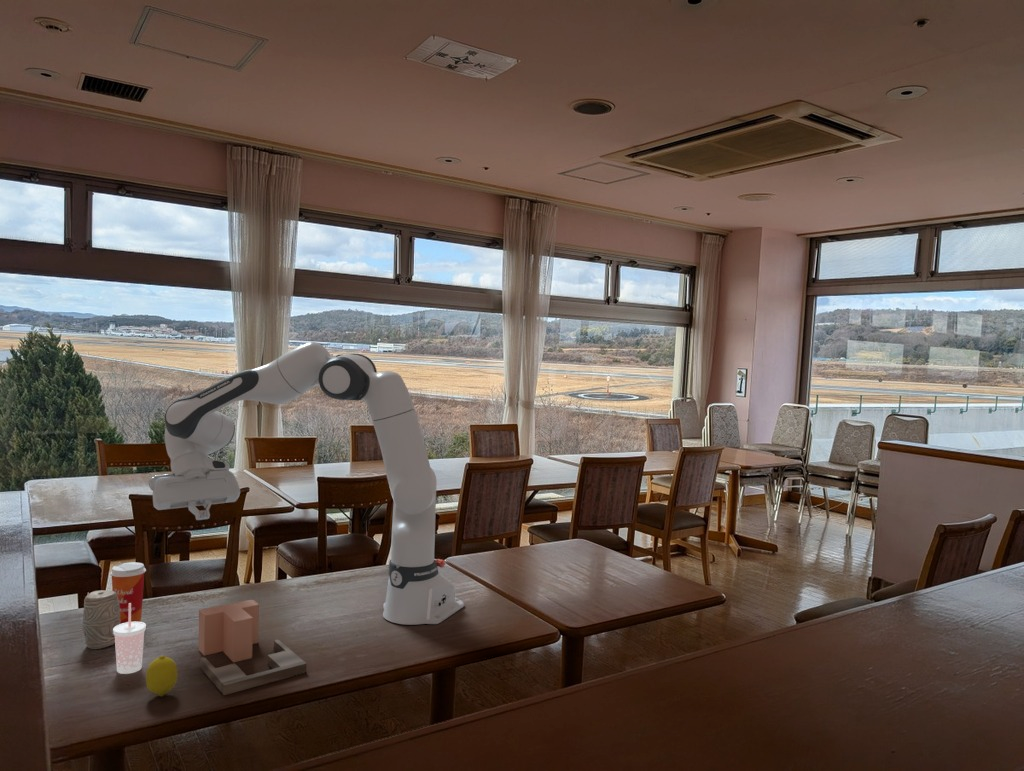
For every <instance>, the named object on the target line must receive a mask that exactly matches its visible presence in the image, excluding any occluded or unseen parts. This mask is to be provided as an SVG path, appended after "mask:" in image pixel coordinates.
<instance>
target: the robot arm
mask: <svg viewBox="0 0 1024 771" xmlns="http://www.w3.org/2000/svg"><path fill="white" fill-rule="evenodd" d="M318 385H319V386H320V389H321V391H322V392H323V393H324V394H325V395H326V396H327V397H329V398H331V399H334V400H339V401H358V402H359V401H361V400H362V401H363V402H364V403H365V404H366V406H367V408H368V411H369V415H370V418H371V421H372V424H373V428H374V430H375V431H374V432H375V435H376V437H377V442H378V445H379V448H380V451H381V456H382V461H383V465H384V470H385V474H386V480H387V482H388V485H389V486H388V487H389V489H390V495H391V497H392V500H393V508H392V521H391V522H392V526H391V542H390V543H391V545H390V547H391V548H390V560H389V562H388V575H389V576H388V580H387V588H386V595H385V602H383V605H382V607H383V611H382V612H383V613H382V617H383V618H384V619H385V620H387V621H389V623H390V622H391V623H394V624H399V625H409V626H410V625H411V626H412V625H425V624H427V625H438V624H440V623H442V622H443V621H444V620H446V619H448V618H449V617H451V616H452V615H453V614H456V612H458V611H459V610H461V609H462V608H464V606H465V603H464V602H463V600H461V599H459V598H458V597H456V588H455V586H454V584H453V582H452V581H450V580H449V579H448V578H446V577H445V576H443V574H441V573H440V572H439V568H441V569H442V568H444V567H445V565H446V561H445V559H440V558H437V559H435V545H436V544H435V542H436V536H435V535H436V512H437V511H436V505H437V476H436V474H435V472H434V470H433V468H432V467H431V465H430V464H431V463H430V461H429V457H428V453H427V449H426V444H425V442H424V436H423V433H422V429H421V426H420V423H419V420H418V416H417V412H416V409H415V406H414V402H413V399H412V396H411V394H410V392H409V389H408V387H407V385H406V383H405V380H404V379H403V378H402V376H401V375H400V374H399V373H397V372H395V371H390V370H389V371H388V370H386V371H385V370H384V371H379V372H377V366H376V365H375V362H374V361H372V359H370V358H369V357H367V356H366V355H364V354H359V353H345V354H336V356H333V355H332V354H331V353H330V351H328V349H327V348H326V347H324V345H322V344H320V343H319V342H316V341H309V342H306V343H303V344H301V345H299V346H297V347H295V348H292V349H291V350H289V351H287V352H286V353H284V354H282V355H281V356H278V357H277V358H276V359H274V360H272V361H270V362H269V363H266V364H264V365H261V366H259V367H255V368H252V369H246V370H241V371H239V372H237V373H235V374H232V375H230V376H228V377H226V378H224V379H222V380H220V381H218V382H216V383H214V384H212V385H210V386H209V387H207V388H203V390H201V391H199V392H197V393H194V394H192V395H187V396H186V395H185V396H183V397H180V398H178V399H176V400H175V401H173V402H172V403H171V404H170V405H169V406H168V408H167V409H166V411H165V414H164V425H165V430H164V444H165V449H166V453H167V456H168V457H169V459H170V471H171V473H165V474H155V475H154V476H152V477H150V478H149V480H148V485H149V488H150V490H151V491H152V505H153V508H155V509H156V510H157V511H162V510H164V511H165V510H173V509H181V508H188V511H189V512H190V513H191V514H192V515H194V517H195V520H196V521H202V520H208V519H210V517H211V513H210V509H211V506H212V505H218V504H225V503H226V504H227V503H228V504H229V503H235V502H237V501H238V499H239V497H240V494H241V488H240V485H239V483H238V480H237V478H236V475H235V474H234V472H232V471H230V467H231V466H230V463H228V462H226V461H222V460H217V459H212V458H209V457H208V455H212V454H213V453H216V452H218V451H220V450H222V449H223V448H226V446H228V445H229V444H230V443H231V442H232V440H233V439H234V436H235V433H236V432H235V431H236V426H235V422H234V419H233V418H232V417H230V416H229V415H226V414H225V413H222V412H221V411H219V410H221V409H223V408H225V407H227V406H229V405H230V404H232V403H235V402H239V401H255V402H261V403H262V402H263V403H266V404H272V405H284V404H286V403H290V402H292V401H295V400H296V399H298V398H299V397H302V395H304V394H305V393H307V392H308V391H311V389H313V388H314V387H317V386H318ZM200 506H203V508H204V509H203V510H199V509H198V508H197V507H200Z"/></svg>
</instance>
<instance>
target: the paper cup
mask: <svg viewBox="0 0 1024 771" xmlns="http://www.w3.org/2000/svg"><path fill="white" fill-rule="evenodd" d="M145 572H147V569H146V568H145V565H144V563H142V562H138V561H137V562H133V561H132V562H123V563H120V564H116V565H114V566H113V567H112V568H111V571H110V573H109V574H110V576H111V588H112V590H111V591H114V592H116V594H117V595H118V596H117V597H118V601H119V606H120V609H119V613H120V624H122V623H126V622H128V617H129V603H131V622H134V621H136V622H142V612H143V611H142V610H143V600H144V584H145Z"/></svg>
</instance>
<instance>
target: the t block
mask: <svg viewBox="0 0 1024 771" xmlns="http://www.w3.org/2000/svg"><path fill="white" fill-rule="evenodd" d="M259 610H260V605H259V603H258V602H256V600H254V599H247V600H242V601H237V602H233V603H232V602H231V603H228V604H223V605H217V606H212V607H208V608H202V609H199V610H198V650H199V652H200V653H201V654H202V656H204V657H205V656H207V655H213V654H217V653H221V652H223V653H224V654H225V656H227V657H228V659H229V660H230V661H231V662H232V663H237V662H241V661H246V660H249V659H252V658H253V645H254V644H258V643H259V626H260V625H259V621H260V618H259V617H260V615H259V612H260V611H259Z"/></svg>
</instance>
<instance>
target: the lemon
mask: <svg viewBox="0 0 1024 771" xmlns="http://www.w3.org/2000/svg"><path fill="white" fill-rule="evenodd" d="M177 680H178V667H177V664H176V662H175V661H174V660H173V659H172V658H171V657H168V656H165V655H160V656H158V657H157V658H155V659H153V660H152V661H151V662H150V663H149V665H148V667H147V669H146V675H145V683H146V687H147V690H149V692H151V693H152V694H154V695H157V696H159V697H163V696H164V695H165V694H167V693H169V692H170V691H172V690H173V688H174V686H175V685H176V683H177Z"/></svg>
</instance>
